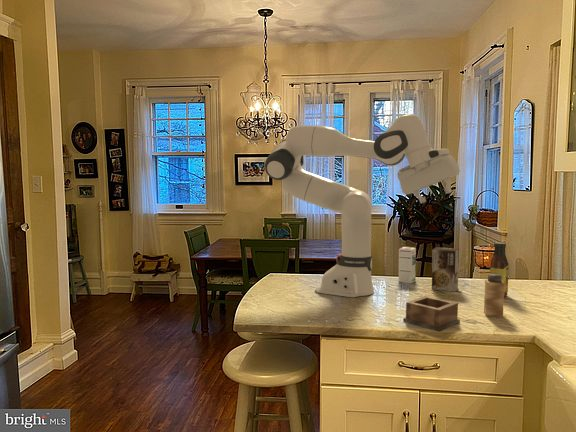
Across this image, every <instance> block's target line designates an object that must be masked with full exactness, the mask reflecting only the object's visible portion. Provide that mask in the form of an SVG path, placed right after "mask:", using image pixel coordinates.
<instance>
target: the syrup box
mask: <svg viewBox="0 0 576 432" xmlns="http://www.w3.org/2000/svg"><path fill="white" fill-rule="evenodd" d="M416 251H417V248H416V247H412V246H403V247H400V248H399V249H398V282H399V283H404V284H413V283H414V282H416V277H417V276H416V275H417V274H416V271H417V269H416V267H417V265H416V263H417V261H416V259H417V257H416V256H417V255H416V254H417V252H416Z"/></svg>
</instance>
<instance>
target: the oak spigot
mask: <svg viewBox="0 0 576 432" xmlns="http://www.w3.org/2000/svg"><path fill="white" fill-rule="evenodd" d="M504 299H505V296H504V282H503V281H502V275H499V274H490V273H489V274H487V278H485V279H484V299H483V300H484V301H483V302H484V305H483V313H484V315H485V317H488V316H491V317H490V318H499V317H502V319H503V318H504V305H505V304H504V302H505V300H504Z"/></svg>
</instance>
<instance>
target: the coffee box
mask: <svg viewBox="0 0 576 432" xmlns="http://www.w3.org/2000/svg"><path fill="white" fill-rule="evenodd" d="M459 251H460V249H459V248H451V247H450V248H449V247H434V248H433V249H432V252H431V253H432V254H431V255H432V256H431V257H432V259H431V263H432V264H431V269H432V270H431V289H432V290H438V291H439V290H440V291H447V292H456V291H457V290H458V289H459V264H460V263H459V261H460V259H459V254H460V253H459Z"/></svg>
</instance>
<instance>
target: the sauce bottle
mask: <svg viewBox="0 0 576 432" xmlns="http://www.w3.org/2000/svg"><path fill="white" fill-rule="evenodd" d="M493 247H494V248H493V249H494V252H493V254H494V255H493V256H492V258H491V260H490V266H489V274H499V275H502V281H503V282H504V297H507V296H508V292H509V267H510V266H509V262H508V258H507V255H506V247H507V243H505V242H494V243H493Z"/></svg>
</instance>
